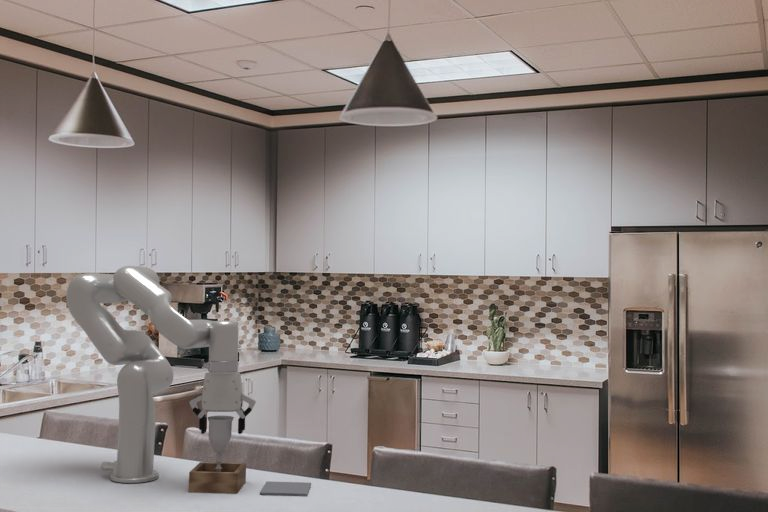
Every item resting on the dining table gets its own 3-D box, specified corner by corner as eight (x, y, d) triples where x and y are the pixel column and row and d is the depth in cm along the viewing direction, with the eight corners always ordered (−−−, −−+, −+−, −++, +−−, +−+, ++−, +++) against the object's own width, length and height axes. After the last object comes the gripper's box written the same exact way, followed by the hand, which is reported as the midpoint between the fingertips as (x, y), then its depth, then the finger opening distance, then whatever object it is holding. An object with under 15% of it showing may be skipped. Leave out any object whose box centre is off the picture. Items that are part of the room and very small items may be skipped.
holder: (188, 492, 196) (189, 472, 196) (199, 480, 208) (200, 462, 208) (237, 493, 196) (238, 473, 196) (245, 482, 208) (246, 463, 208)
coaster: (259, 494, 195) (259, 492, 195) (266, 483, 207) (266, 481, 207) (306, 496, 195) (307, 493, 195) (311, 484, 207) (311, 482, 207)
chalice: (224, 491, 198) (227, 420, 199) (199, 489, 199) (202, 418, 200) (235, 484, 205) (238, 416, 206) (211, 482, 206) (214, 414, 207)
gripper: (187, 368, 200) (185, 435, 199) (253, 368, 200) (252, 435, 199) (193, 366, 207) (192, 430, 206) (258, 366, 207) (257, 430, 206)
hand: (222, 433), depth 203 cm, fingers open, 9 cm apart
